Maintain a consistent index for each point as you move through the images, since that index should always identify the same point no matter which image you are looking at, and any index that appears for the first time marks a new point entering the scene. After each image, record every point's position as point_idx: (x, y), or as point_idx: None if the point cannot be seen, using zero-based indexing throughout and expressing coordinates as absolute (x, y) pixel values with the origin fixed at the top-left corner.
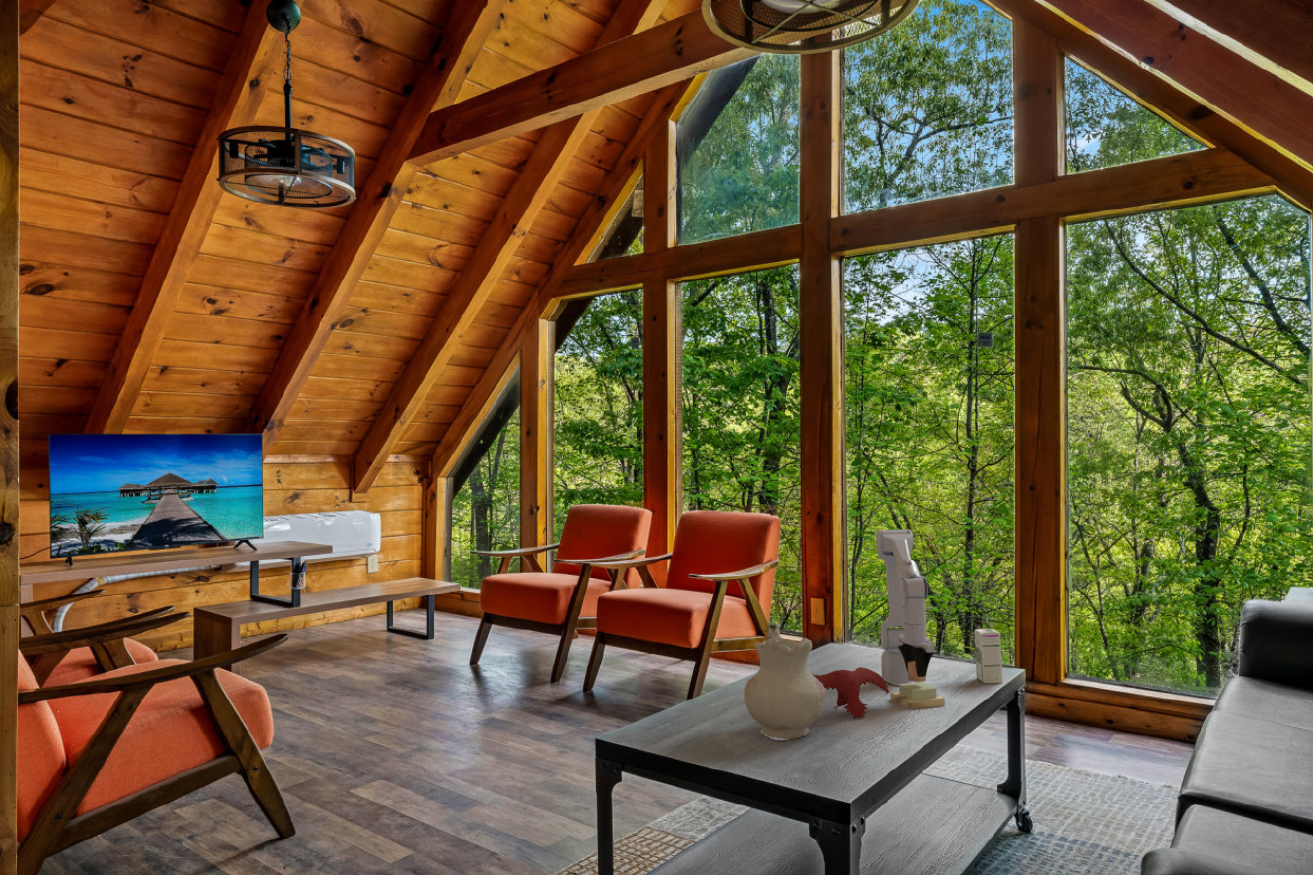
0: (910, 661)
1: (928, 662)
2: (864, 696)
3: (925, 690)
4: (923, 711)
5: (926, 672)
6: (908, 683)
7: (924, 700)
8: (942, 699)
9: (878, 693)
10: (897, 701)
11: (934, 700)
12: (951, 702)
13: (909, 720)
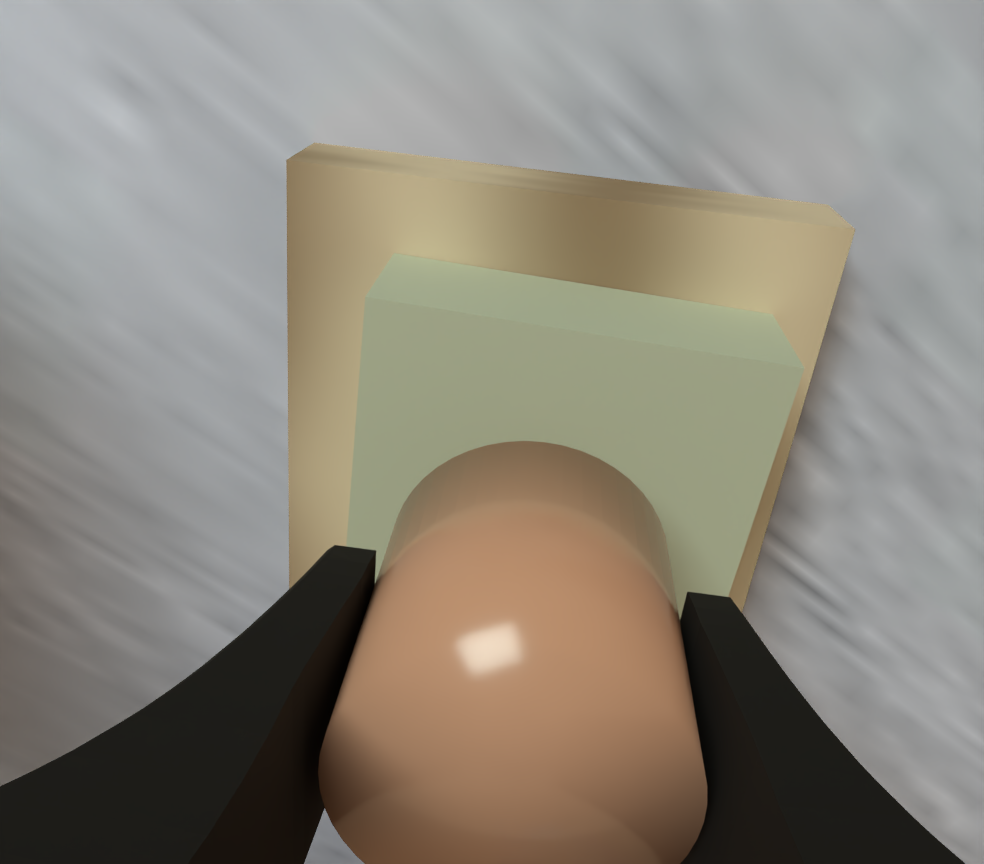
0: (348, 810)
1: (885, 811)
2: (132, 688)
3: (745, 523)
4: (852, 567)
5: (758, 638)
6: (362, 523)
7: (763, 512)
8: (842, 262)
9: (61, 530)
10: None
11: (805, 381)
12: (779, 13)
13: (974, 816)
